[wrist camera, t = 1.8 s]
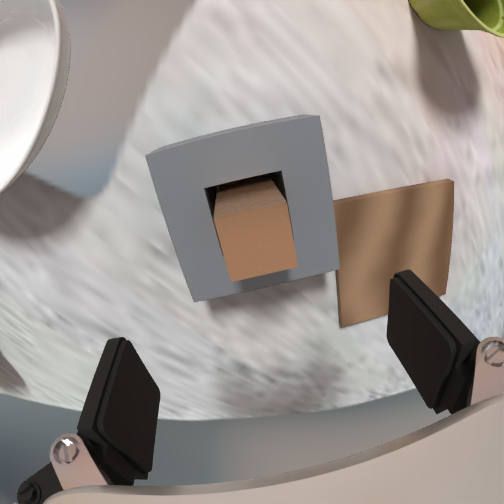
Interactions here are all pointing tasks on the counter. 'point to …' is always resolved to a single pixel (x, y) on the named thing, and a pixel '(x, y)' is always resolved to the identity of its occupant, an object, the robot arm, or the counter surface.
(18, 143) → the serving bowl
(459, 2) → the plant pot
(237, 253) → the copper peg
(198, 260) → the socket block
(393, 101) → the counter surface
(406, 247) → the walnut mat
